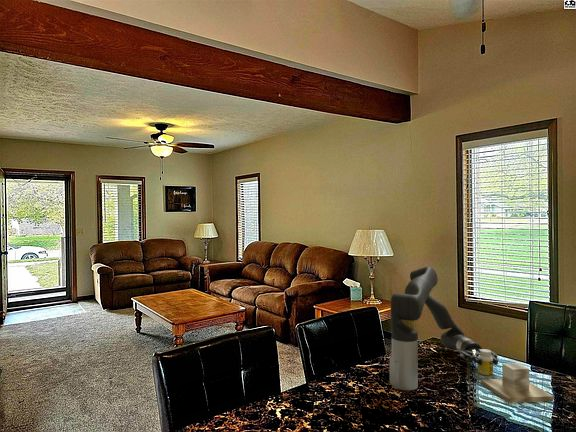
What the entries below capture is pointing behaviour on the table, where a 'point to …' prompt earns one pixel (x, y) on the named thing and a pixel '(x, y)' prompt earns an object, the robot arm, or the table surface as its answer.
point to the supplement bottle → (485, 364)
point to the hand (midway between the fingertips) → (488, 362)
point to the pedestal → (516, 385)
